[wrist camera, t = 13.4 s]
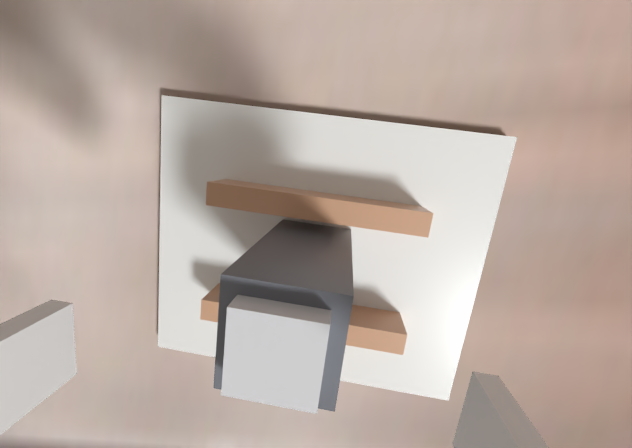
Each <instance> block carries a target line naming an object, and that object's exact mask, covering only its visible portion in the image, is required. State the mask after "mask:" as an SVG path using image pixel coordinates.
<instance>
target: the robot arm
mask: <svg viewBox="0 0 632 448" xmlns="http://www.w3.org/2000/svg"><path fill="white" fill-rule="evenodd" d="M76 374H77V367H76V351H75V334H74V317H73V303H68V302H62V301H56V300H50V301H48V302H45V303H43V304H41V305H39V306H37V307H35V308H33V309H31V310H29V311H27V312H25V313H23V314H20V315H18V316H16V317H14V318H12V319H10V320H8V321H6V322H4V323H2V324H0V435H1V434H2V433H4V432H5V431H6V430H7V429H9V428H10V427H11V426H12V425H14V424H15V423H16V422H17V421H19V420H20V419H21V418H22V417H24V416H25V415H26V414H27V413H29V412H30V411H31V410H32V409H34V408H35V407H36V406H37V405H39V404H40V403H41V402H42V401H44V400H45V399H46V398H47V397H49V396H50V395H51V394H52V393H54V392H55V391H56V390H57V389H59V388H60V387H61V386H62V385H64V384H65V383H66V382H67V381H68V380H70V379H71V378H72V377H73V376H75V375H76ZM453 446H454V448H549V447H548V445H547V444H546V443H545V441H544V440H543V438H542V437H541V435H540V434H539V433H538V431H537V430H536V428H535V427H534V426H533V424H532V423H531V421H530V420H529V418H528V417H527V416H526V414H525V413H524V411H523V410H522V409H521V407H520V406H519V404H518V403H517V401H516V400H515V399H514V397H513V396H512V394H511V393H510V392H509V390H508V389H507V387H506V386H505V384H504V383H503V382H502V380H501V379H500V377H499V376H496V375H491V374H485V373H479V372H472V376H471V379H470V383H469V387H468V390H467V394H466V397H465V401H464V404H463V408H462V412H461V415H460V419H459V422H458V426H457V429H456V433H455V437H454V440H453Z"/></svg>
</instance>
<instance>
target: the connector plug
mask: <svg viewBox="0 0 632 448" xmlns="http://www.w3.org/2000/svg"><path fill="white" fill-rule="evenodd" d="M353 298H354V288H353V264H352V239H351V229H346V228H339V227H332V226H325V225H319V224H312V223H305V222H298V221H291V220H285V219H283V220H282V221H280V222H279V223H278V224H277V225H276V226H275V227H274V228H272V229H271V230H270V231H269V232H268V233H267V234H266V235H265V236H263V237H262V238H261V239H260V240H259V241H258V242H257V243H255V244H254V245H253V246H252V247H251V248H250V249H249V250H248V251H246V252H245V253H244V254H243V255H242V256H241V257H240V258H239V259H237V260H236V261H235V262H234V263H233V264H232V265H231V266H229V267H228V268H227V269H226V270H225V271H224V272H223V273H222V274H221V277H220V293H219V309H218V326H217V342H216V358H215V374H214V388H216V389H221V395H222V396H227V397H232V398H237V399H243V400H248V401H253V402H258V403H263V404H268V405H273V406H278V407H284V408H289V409H294V410H299V411H304V412H309V413H314V414H317V410H318V408H319V409H324V410H329V411H335V406H336V400H337V394H338V388H339V382H340V376H341V370H342V364H343V358H344V352H345V346H346V340H347V334H348V328H349V322H350V316H351V310H352V304H353Z"/></svg>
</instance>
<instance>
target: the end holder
mask: <svg viewBox="0 0 632 448" xmlns="http://www.w3.org/2000/svg"><path fill="white" fill-rule="evenodd" d="M516 139H517V137H511V136H503V135H494V134H486V133H477V132H469V131H460V130H452V129H443V128H435V127H426V126H418V125H410V124H401V123H393V122H384V121H376V120H367V119H359V118H350V117H342V116H333V115H325V114H317V113H308V112H300V111H291V110H283V109H274V108H266V107H257V106H249V105H240V104H232V103H224V102H215V101H207V100H198V99H190V98H181V97H173V96H164V95H162V99H161V169H160V239H159V309H158V347H162V348H168V349H173V350H178V351H184V352H189V353H195V354H200V355H205V356H211V357H216V342H217V326H218V309H219V293H220V277H221V274H222V273H223V272H224V271H225V270H226V269H227V268H228V267H229V266H231V265H232V264H233V263H234V262H235V261H236V260H237V259H239V258H240V257H241V256H242V255H243V254H244V253H245V252H246V251H248V250H249V249H250V248H251V247H252V246H253V245H254V244H255V243H257V242H258V241H259V240H260V239H261V238H262V237H263V236H265V235H266V234H267V233H268V232H269V231H270V230H271V229H272V228H274V227H275V226H276V225H277V224H278V223H279V222H280V221H282V220H283V219H285V220H291V221H298V222H305V223H312V224H319V225H325V226H332V227H339V228H346V229H351V239H352V264H353V288H354V298H353V304H352V310H351V316H350V322H349V328H348V334H347V340H346V346H345V352H344V358H343V364H342V370H341V376H340V381H345V382H351V383H356V384H362V385H367V386H372V387H378V388H383V389H388V390H394V391H399V392H405V393H410V394H415V395H421V396H426V397H432V398H437V399H442V400H449V396H450V392H451V388H452V384H453V380H454V377H455V373H456V369H457V365H458V361H459V357H460V354H461V350H462V346H463V342H464V338H465V335H466V331H467V327H468V323H469V319H470V315H471V312H472V308H473V304H474V300H475V296H476V292H477V289H478V285H479V281H480V277H481V273H482V269H483V266H484V262H485V258H486V254H487V250H488V246H489V243H490V239H491V235H492V231H493V227H494V223H495V220H496V216H497V212H498V208H499V204H500V200H501V197H502V193H503V189H504V185H505V181H506V177H507V174H508V170H509V166H510V162H511V158H512V155H513V151H514V147H515V143H516Z"/></svg>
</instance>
